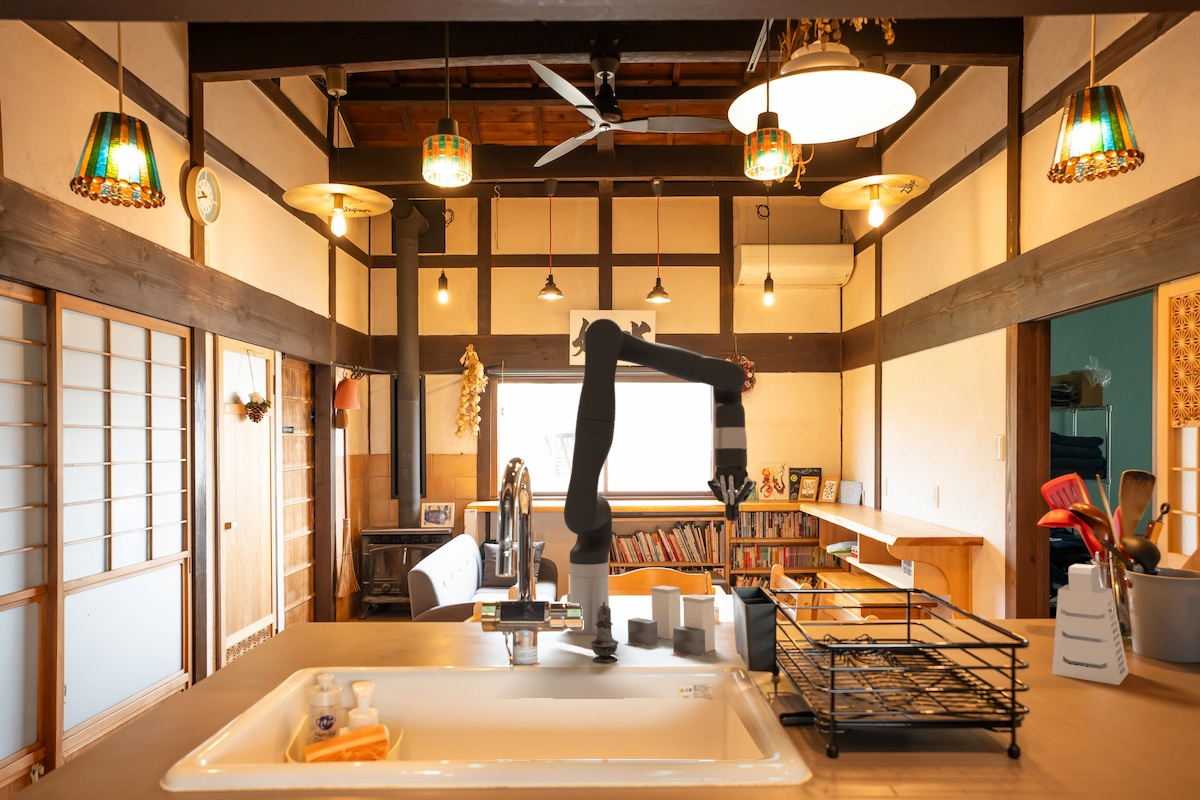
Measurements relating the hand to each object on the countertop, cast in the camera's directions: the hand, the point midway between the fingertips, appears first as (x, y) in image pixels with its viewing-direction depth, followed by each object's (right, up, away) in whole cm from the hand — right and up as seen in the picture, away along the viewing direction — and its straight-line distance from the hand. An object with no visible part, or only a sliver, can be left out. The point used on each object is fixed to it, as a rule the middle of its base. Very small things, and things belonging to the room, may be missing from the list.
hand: (732, 520), depth 175 cm
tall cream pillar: (-16, -25, -6) cm, 31 cm away
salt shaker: (-30, -26, -21) cm, 45 cm away
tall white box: (-10, -24, -18) cm, 32 cm away
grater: (+62, -24, -34) cm, 74 cm away
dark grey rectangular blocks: (-14, -26, -13) cm, 32 cm away
